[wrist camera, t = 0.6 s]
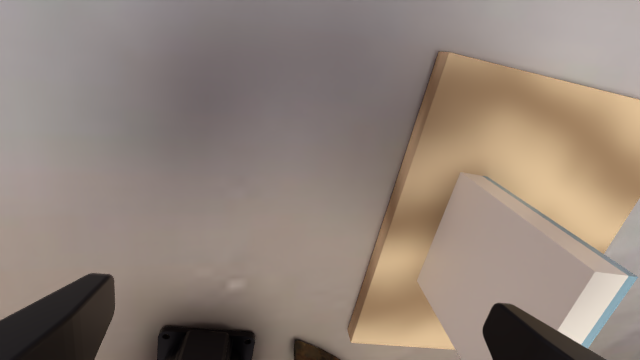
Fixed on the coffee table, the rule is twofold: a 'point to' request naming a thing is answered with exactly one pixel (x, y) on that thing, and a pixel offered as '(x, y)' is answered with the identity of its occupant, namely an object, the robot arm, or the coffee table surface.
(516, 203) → the tile
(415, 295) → the board
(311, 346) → the hand tool
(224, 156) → the coffee table surface
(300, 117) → the coffee table surface
